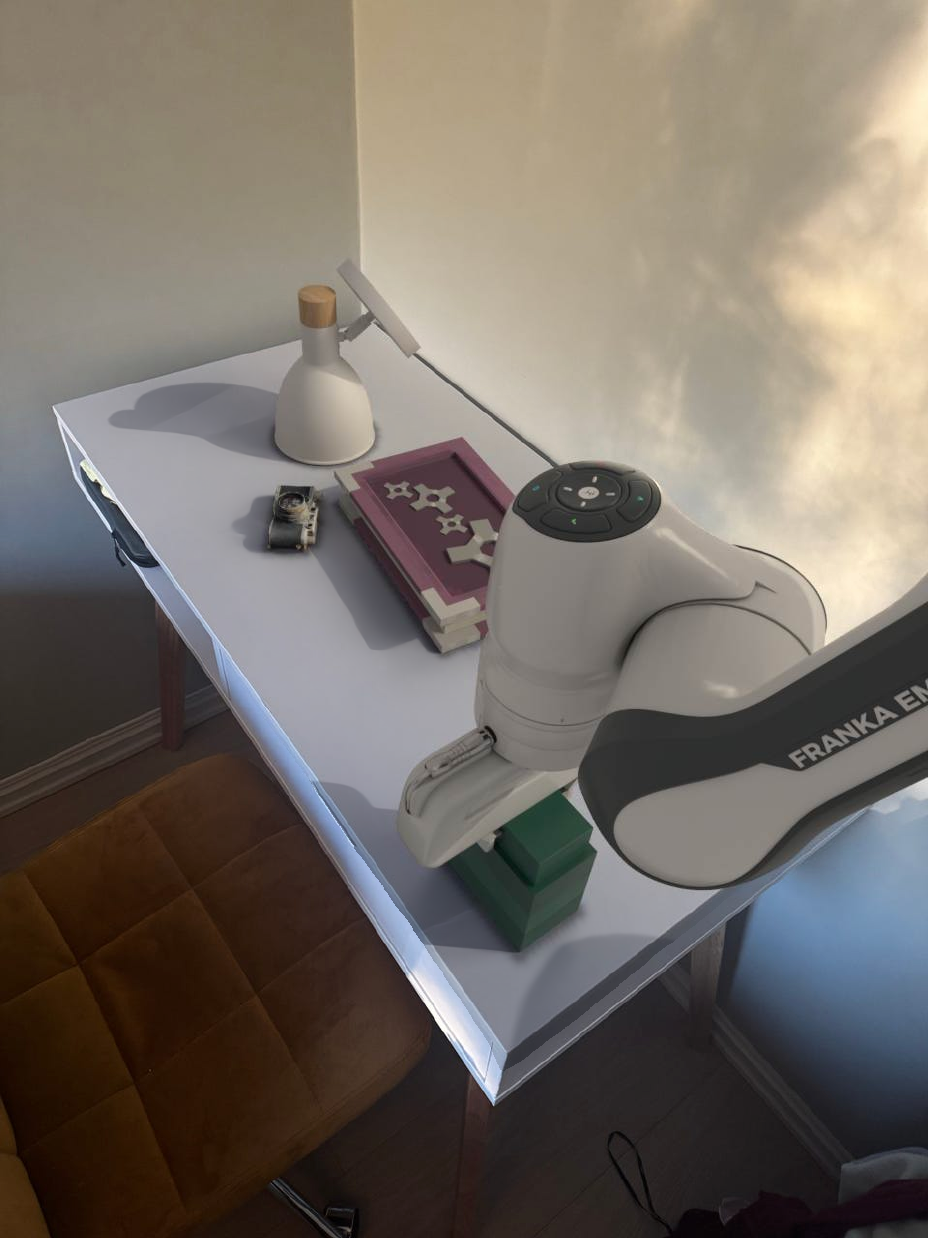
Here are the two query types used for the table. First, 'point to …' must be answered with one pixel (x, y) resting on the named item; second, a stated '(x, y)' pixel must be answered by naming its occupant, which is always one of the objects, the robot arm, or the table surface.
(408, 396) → the table surface
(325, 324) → the light fixture
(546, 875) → the dark green cuboid
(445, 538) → the book
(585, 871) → the green pile
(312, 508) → the camera
